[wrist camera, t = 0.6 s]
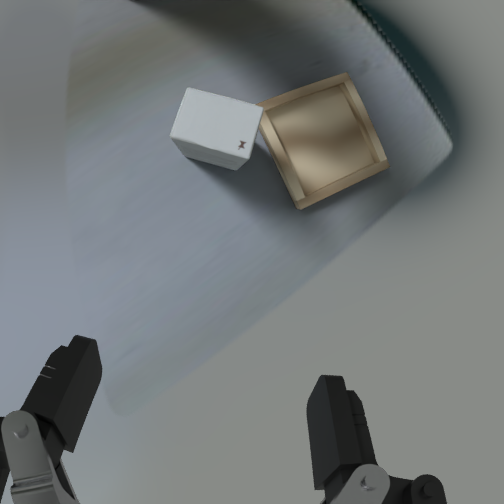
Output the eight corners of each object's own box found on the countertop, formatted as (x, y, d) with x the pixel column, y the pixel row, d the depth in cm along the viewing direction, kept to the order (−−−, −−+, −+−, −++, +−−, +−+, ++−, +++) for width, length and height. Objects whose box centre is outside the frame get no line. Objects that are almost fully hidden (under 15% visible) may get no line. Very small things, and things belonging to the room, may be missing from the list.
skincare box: (248, 134, 33) (267, 107, 22) (236, 171, 34) (250, 162, 22) (194, 119, 32) (186, 84, 21) (181, 156, 33) (167, 139, 21)
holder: (249, 110, 33) (251, 105, 31) (341, 76, 33) (347, 72, 31) (296, 208, 36) (300, 209, 34) (382, 167, 36) (390, 167, 34)
